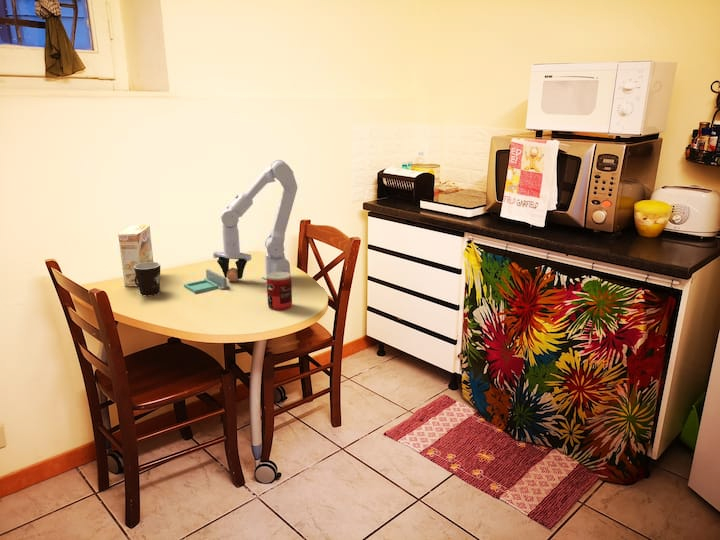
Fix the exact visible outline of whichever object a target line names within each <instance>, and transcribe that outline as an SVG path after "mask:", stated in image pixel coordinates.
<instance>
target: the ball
mask: <svg viewBox="0 0 720 540" xmlns="http://www.w3.org/2000/svg"><path fill="white" fill-rule="evenodd" d="M226 279H227V280H229V281H230V282H237V281H238V280H239V279H238V271H237V267H231V268H229V270H228V271H227V278H226Z"/></svg>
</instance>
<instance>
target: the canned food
mask: <svg viewBox="0 0 720 540" xmlns="http://www.w3.org/2000/svg"><path fill="white" fill-rule="evenodd" d="M291 278H292V274H291V272H290V273H288V272H282V271H277V272H271V273H268V274H267V280H266V293H267V297H266V298H267V306H268V308H269V309H270V310H273V311H286V310H289V309H291V308H292V305H293V293H292V292H293V287H292V279H291Z"/></svg>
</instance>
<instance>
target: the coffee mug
mask: <svg viewBox="0 0 720 540" xmlns="http://www.w3.org/2000/svg"><path fill="white" fill-rule="evenodd" d="M134 270H135V274H136V276H135V284H136V285H137V286H136V287H138V289H139V293H140V295H141V294H142V295H141V296H143V295H146V296H145V297H149V296H148V295H152V296H155V294H156V295H158V293H159V292H160V293H161V263H160V262H156V261H153V262H144V263H139V264H137V265H135V266H134ZM137 282H138V283H137ZM160 293H159V294H160Z"/></svg>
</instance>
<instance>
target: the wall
mask: <svg viewBox="0 0 720 540" xmlns="http://www.w3.org/2000/svg"><path fill="white" fill-rule="evenodd" d="M205 274H206V275H205V276H206V278H204V279H203V280H206V279H208V280H209V281H211V282H213V283H215V284H217V285H218V287H219V290H221V291H224V290H227V289H230V286H229V285H227V284H228V282H227V278H225V276H224V275H220V274H219V273H217V272H215V271H213V270H211V269H205Z"/></svg>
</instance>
